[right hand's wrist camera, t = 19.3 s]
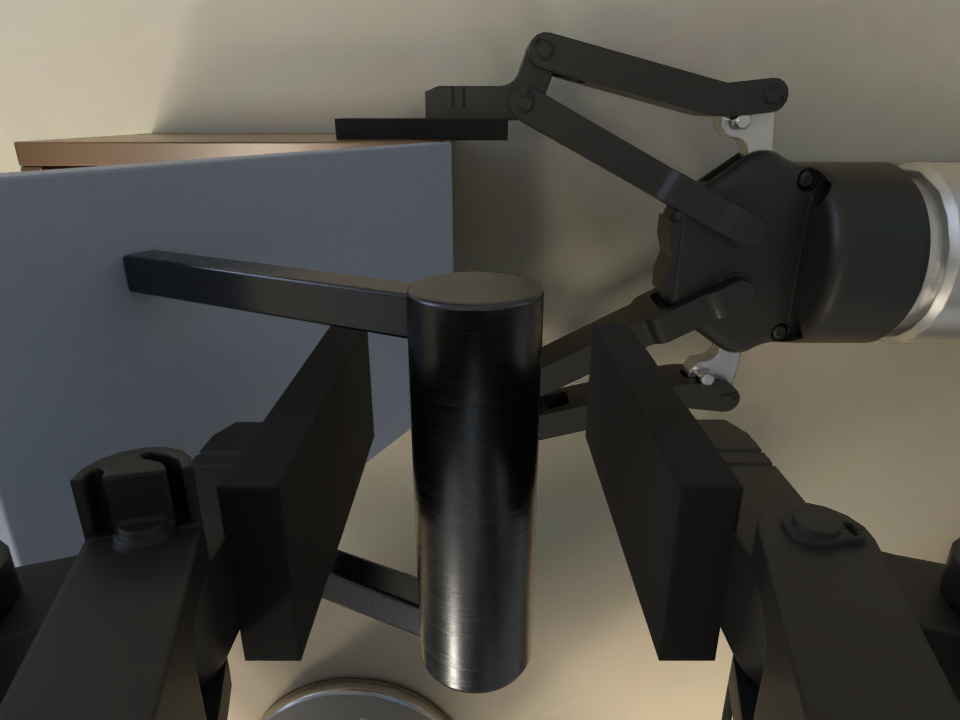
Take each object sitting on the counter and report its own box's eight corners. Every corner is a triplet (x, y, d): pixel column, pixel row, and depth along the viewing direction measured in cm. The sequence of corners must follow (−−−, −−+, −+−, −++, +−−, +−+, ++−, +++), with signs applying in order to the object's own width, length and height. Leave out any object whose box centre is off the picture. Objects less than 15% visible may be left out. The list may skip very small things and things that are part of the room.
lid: (32, 682, 12) (430, 920, 9) (-131, 182, 9) (399, 227, 5) (437, 391, 25) (665, 437, 22) (431, 141, 22) (698, 147, 18)
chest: (180, 316, 35) (73, 389, 26) (148, 133, 32) (12, 141, 22) (454, 315, 35) (447, 388, 26) (451, 133, 32) (442, 141, 22)
